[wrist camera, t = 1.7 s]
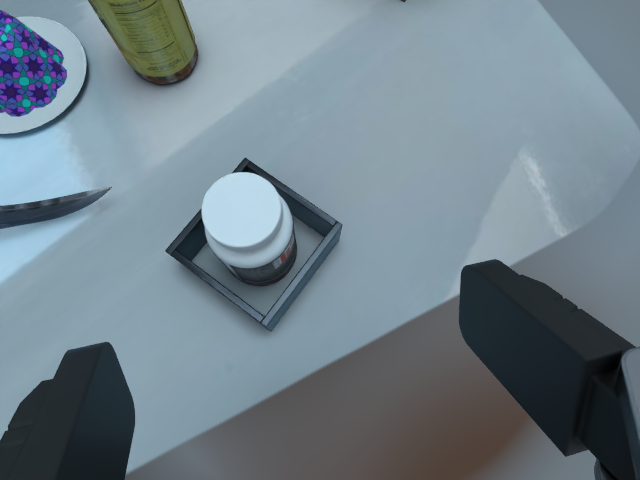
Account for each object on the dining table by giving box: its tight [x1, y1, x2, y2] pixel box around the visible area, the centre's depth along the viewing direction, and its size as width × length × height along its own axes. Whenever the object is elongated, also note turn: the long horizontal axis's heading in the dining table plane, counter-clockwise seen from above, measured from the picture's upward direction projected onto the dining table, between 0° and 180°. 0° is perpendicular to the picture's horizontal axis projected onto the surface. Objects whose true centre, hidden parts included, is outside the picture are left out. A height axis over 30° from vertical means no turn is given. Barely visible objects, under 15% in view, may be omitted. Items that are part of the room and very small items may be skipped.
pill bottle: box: [201, 172, 297, 285], centre depth 30 cm, size 6×6×10 cm
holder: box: [165, 158, 342, 331], centre depth 33 cm, size 9×9×4 cm
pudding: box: [0, 10, 87, 134], centre depth 36 cm, size 12×12×5 cm
